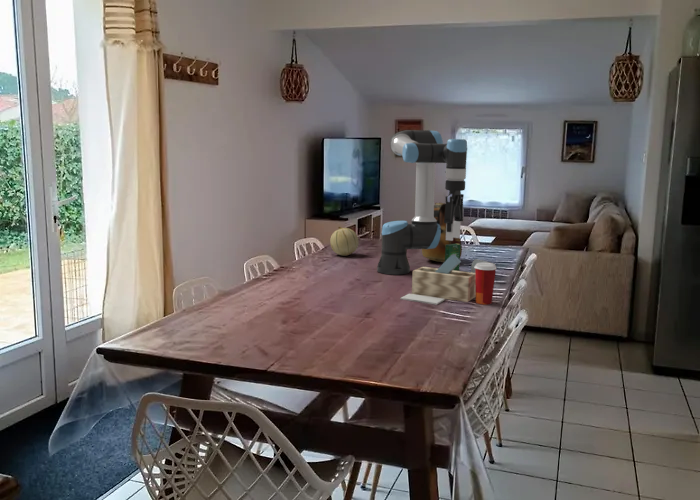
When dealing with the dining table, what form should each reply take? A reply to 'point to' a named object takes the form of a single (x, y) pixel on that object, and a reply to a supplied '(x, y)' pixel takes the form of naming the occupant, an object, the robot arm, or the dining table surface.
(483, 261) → the ceramic mug
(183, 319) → the dining table surface
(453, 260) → the bar
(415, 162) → the robot arm
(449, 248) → the coffee box
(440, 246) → the ceramic pitcher
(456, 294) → the jig
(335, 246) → the cantaloupe
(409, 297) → the mat
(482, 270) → the coffee cup
